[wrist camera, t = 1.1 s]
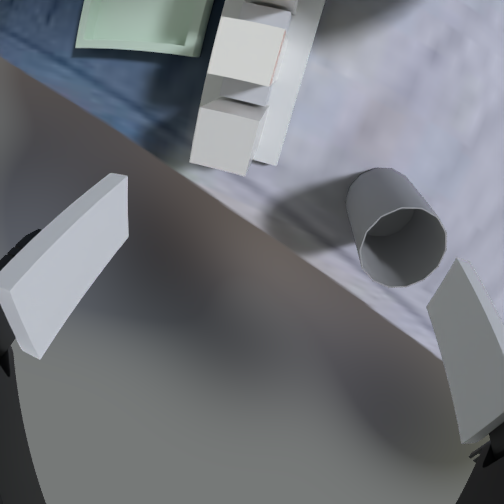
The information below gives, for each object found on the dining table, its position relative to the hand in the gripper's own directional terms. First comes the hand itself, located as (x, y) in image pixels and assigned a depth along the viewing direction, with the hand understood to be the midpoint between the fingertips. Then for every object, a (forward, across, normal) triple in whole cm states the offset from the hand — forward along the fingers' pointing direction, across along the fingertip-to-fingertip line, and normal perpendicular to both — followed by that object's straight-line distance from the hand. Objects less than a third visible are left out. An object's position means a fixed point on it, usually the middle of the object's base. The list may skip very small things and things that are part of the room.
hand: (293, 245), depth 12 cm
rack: (+23, -5, +6) cm, 25 cm away
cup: (+24, +11, -6) cm, 27 cm away
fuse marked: (+22, -5, +6) cm, 23 cm away
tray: (+23, -18, +12) cm, 32 cm away
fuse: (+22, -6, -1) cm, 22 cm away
